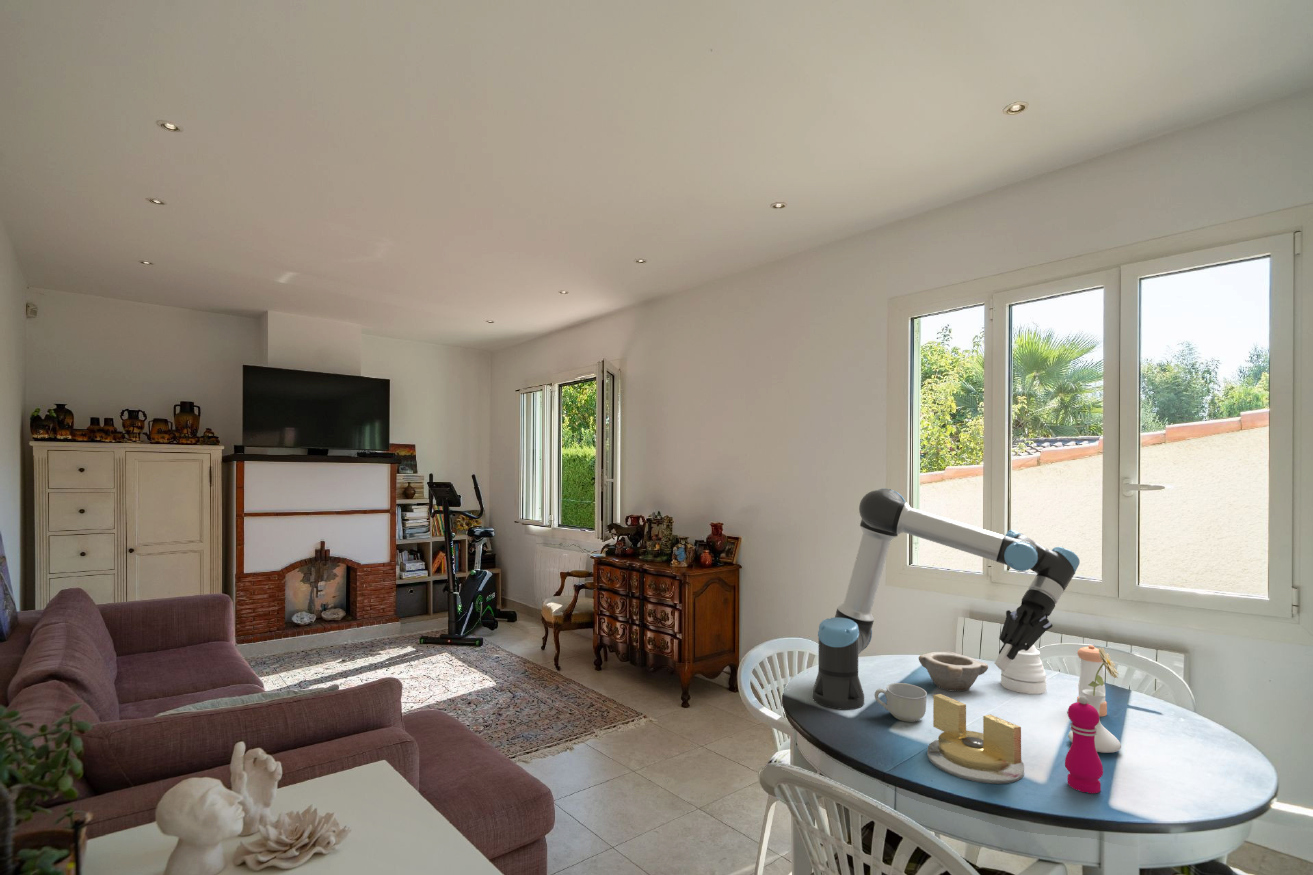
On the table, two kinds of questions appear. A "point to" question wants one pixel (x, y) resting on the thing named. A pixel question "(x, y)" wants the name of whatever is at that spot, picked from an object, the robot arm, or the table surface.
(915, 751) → the table surface
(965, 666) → the mortar
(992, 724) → the gold twin-plate stand
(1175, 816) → the table surface
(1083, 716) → the pepper mill
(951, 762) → the silver round plate
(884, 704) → the teacup
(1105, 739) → the flower in vase
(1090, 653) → the salt shaker
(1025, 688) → the honey pot
